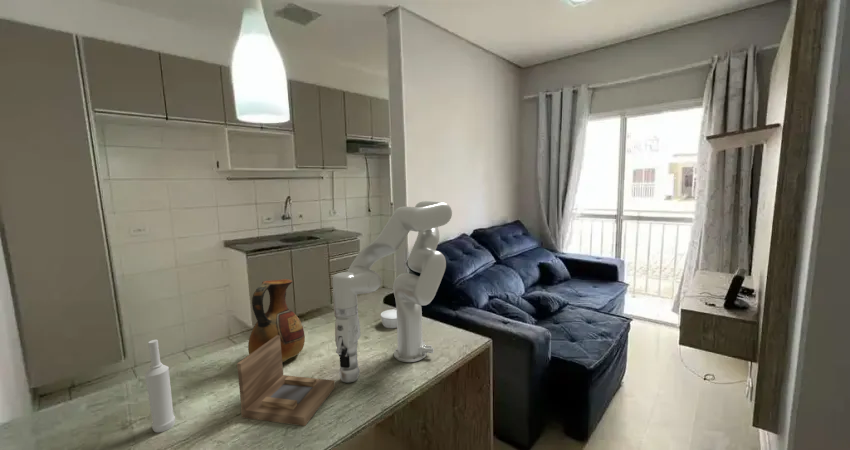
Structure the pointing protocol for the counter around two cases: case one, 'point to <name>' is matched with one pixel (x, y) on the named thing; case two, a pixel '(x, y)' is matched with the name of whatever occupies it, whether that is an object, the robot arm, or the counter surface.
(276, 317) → the ceramic pitcher
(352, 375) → the plastic bottle
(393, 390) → the counter surface
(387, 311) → the ramekin
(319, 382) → the display stand
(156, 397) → the bottle
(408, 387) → the counter surface
